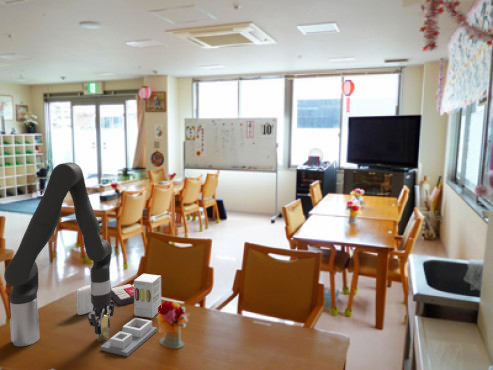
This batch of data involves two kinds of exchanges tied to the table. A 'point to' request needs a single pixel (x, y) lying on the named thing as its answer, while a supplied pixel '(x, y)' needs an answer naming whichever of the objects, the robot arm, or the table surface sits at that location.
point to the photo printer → (84, 300)
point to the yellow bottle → (103, 328)
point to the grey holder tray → (130, 337)
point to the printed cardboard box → (123, 294)
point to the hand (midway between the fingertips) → (102, 330)
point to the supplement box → (147, 295)
